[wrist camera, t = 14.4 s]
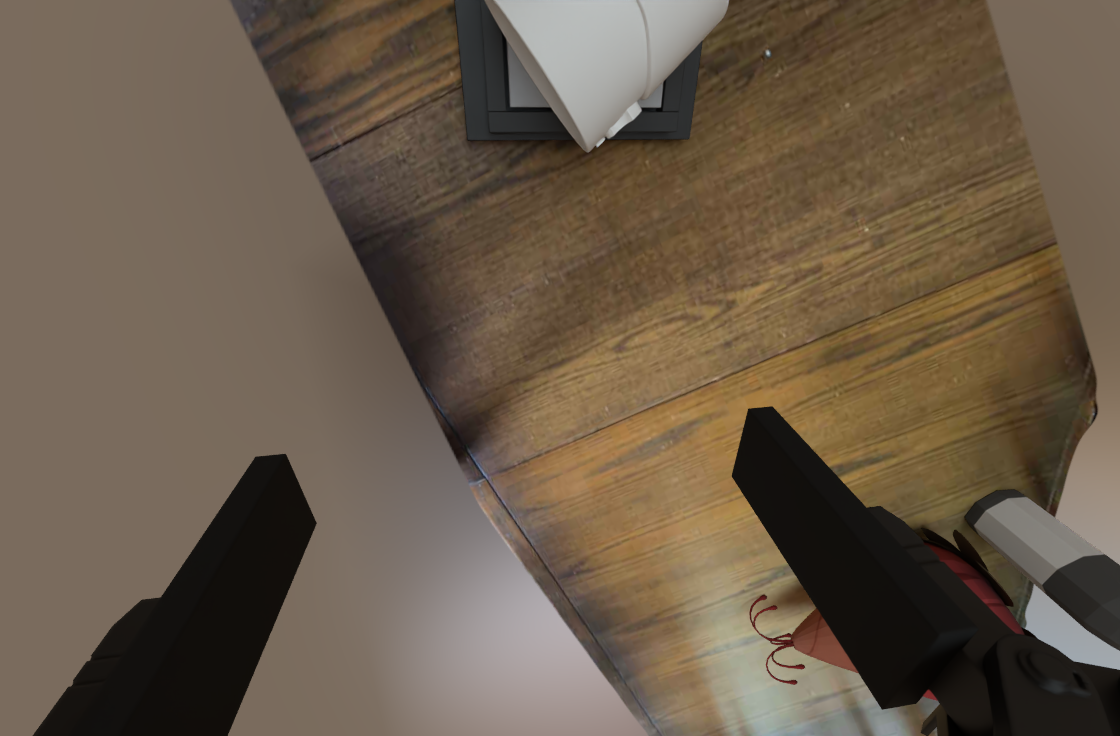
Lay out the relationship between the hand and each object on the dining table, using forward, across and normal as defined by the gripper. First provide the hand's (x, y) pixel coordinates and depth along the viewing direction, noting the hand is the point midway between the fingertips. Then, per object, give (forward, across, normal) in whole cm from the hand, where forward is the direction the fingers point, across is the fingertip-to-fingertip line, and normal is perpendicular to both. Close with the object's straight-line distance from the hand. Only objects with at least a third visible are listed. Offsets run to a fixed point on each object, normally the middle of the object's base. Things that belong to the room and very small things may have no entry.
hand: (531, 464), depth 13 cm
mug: (+23, +5, +14) cm, 28 cm away
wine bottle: (+27, +67, -42) cm, 83 cm away
